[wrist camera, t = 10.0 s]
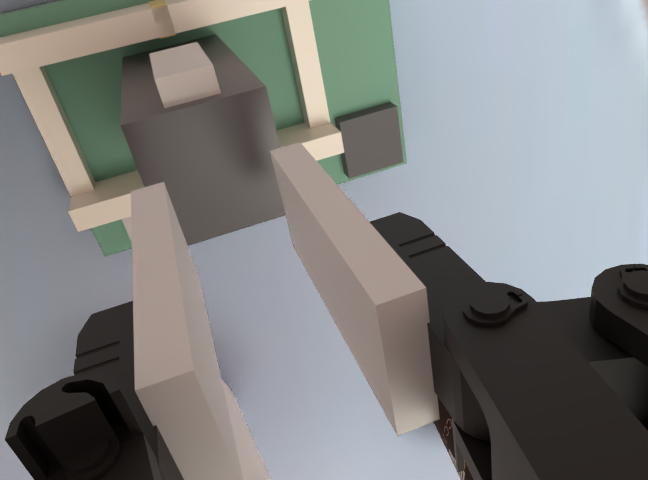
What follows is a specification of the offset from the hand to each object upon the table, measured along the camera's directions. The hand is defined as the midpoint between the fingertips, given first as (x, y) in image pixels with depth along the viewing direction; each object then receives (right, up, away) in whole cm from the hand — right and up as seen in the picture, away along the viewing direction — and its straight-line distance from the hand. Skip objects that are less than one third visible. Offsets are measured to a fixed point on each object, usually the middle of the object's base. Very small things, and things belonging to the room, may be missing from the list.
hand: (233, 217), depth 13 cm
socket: (-4, +6, +11) cm, 13 cm away
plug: (-4, +6, +11) cm, 13 cm away
